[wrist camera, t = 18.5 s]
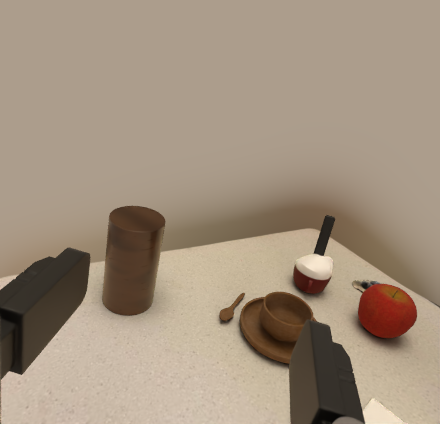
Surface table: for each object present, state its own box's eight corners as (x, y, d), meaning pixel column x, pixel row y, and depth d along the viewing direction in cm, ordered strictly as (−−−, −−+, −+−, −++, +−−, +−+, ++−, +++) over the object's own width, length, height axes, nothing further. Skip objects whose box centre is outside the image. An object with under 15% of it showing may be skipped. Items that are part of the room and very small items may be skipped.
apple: (365, 306, 62) (383, 269, 59) (410, 337, 57) (432, 298, 54) (342, 322, 57) (360, 282, 54) (389, 357, 52) (412, 315, 49)
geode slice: (396, 311, 63) (401, 302, 62) (350, 292, 65) (354, 284, 64) (395, 291, 69) (399, 283, 68) (352, 275, 71) (356, 267, 70)
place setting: (347, 338, 54) (362, 307, 51) (319, 457, 37) (339, 419, 34) (241, 288, 59) (249, 258, 57) (174, 370, 42) (182, 332, 40)
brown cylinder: (132, 323, 48) (144, 238, 42) (91, 300, 50) (96, 217, 44) (162, 296, 54) (175, 218, 48) (123, 277, 56) (132, 201, 50)
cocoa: (310, 306, 59) (335, 243, 54) (278, 285, 62) (299, 224, 57) (335, 286, 66) (359, 229, 61) (305, 268, 69) (326, 213, 64)
